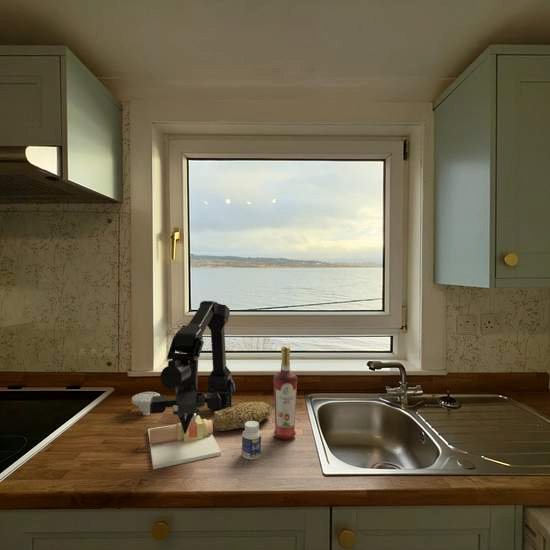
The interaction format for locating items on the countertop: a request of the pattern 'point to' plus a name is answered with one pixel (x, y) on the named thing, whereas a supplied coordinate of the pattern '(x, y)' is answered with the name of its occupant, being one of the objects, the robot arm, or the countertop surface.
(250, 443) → the pill bottle
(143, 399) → the showerhead
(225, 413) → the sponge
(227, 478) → the countertop surface
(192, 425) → the valve lever
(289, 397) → the liquor
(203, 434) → the valve board
